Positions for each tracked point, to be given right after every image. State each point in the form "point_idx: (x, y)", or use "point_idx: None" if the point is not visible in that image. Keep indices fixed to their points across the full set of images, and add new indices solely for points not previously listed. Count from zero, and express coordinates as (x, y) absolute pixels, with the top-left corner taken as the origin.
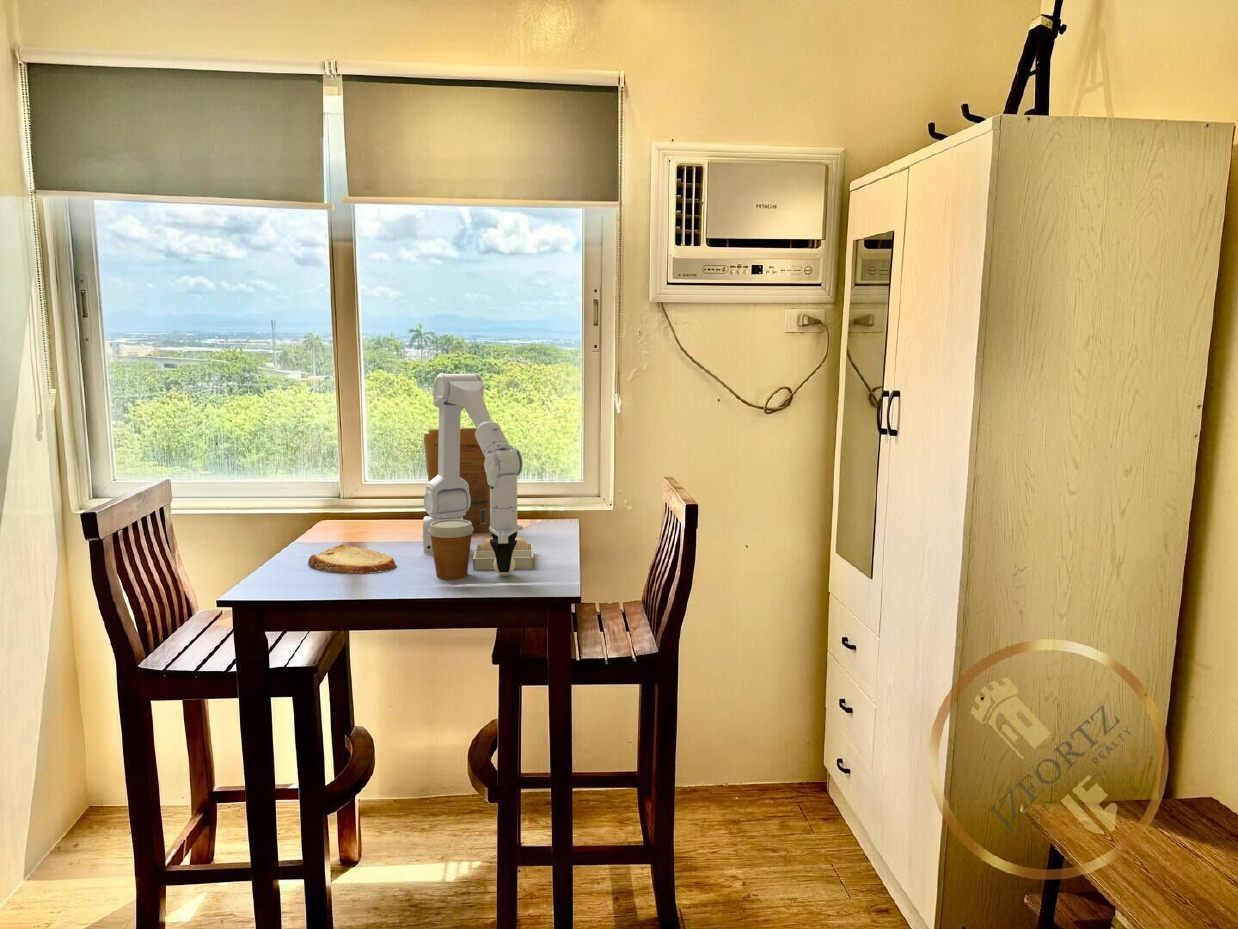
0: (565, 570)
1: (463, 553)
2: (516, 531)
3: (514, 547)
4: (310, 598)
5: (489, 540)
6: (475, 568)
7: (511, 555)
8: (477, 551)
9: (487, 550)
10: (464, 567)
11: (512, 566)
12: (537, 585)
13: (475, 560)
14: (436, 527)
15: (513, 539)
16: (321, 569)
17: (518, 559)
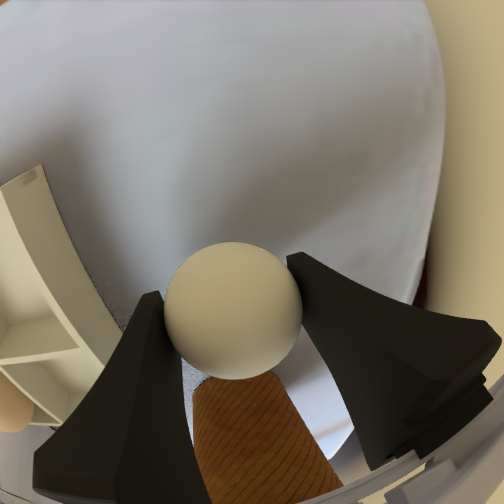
0: (22, 8)
1: (304, 447)
2: (50, 495)
3: (461, 318)
4: (343, 438)
5: (7, 426)
6: None
7: (388, 299)
8: (63, 422)
9: (28, 402)
10: (272, 403)
11: (267, 256)
12: (324, 74)
13: None
14: None
15: (136, 443)
16: None
17: (47, 275)
